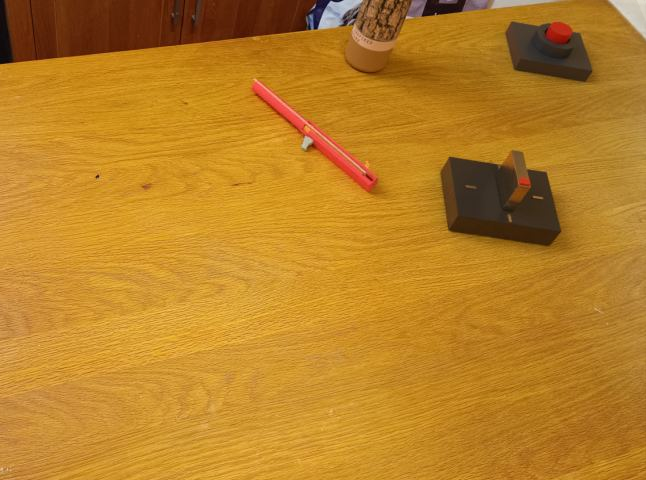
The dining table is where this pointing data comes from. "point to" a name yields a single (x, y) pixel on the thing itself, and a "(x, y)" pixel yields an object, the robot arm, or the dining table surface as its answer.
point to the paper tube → (375, 33)
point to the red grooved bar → (319, 139)
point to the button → (559, 32)
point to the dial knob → (512, 180)
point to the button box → (547, 52)
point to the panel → (497, 204)
